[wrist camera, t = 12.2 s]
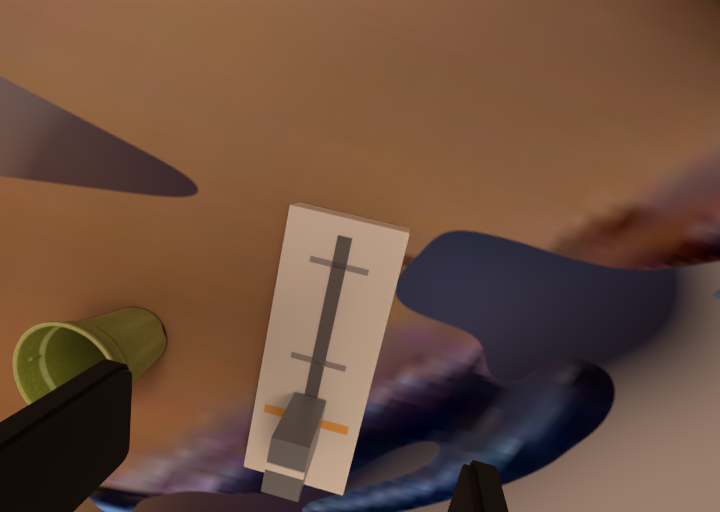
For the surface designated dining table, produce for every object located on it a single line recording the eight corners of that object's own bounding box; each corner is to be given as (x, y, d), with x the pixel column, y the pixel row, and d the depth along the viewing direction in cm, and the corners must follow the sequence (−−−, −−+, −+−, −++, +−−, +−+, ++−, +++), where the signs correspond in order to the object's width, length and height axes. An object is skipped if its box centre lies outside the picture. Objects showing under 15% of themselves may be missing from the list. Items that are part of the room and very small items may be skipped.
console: (409, 228, 33) (409, 233, 30) (347, 471, 38) (342, 496, 35) (300, 202, 33) (289, 204, 30) (255, 445, 39) (243, 467, 36)
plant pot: (85, 347, 39) (-3, 393, 31) (115, 273, 37) (30, 301, 29) (162, 391, 39) (95, 450, 31) (196, 320, 37) (135, 362, 29)
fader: (327, 401, 33) (310, 449, 28) (316, 447, 35) (298, 503, 29) (294, 392, 34) (270, 438, 28) (284, 438, 35) (259, 492, 29)
